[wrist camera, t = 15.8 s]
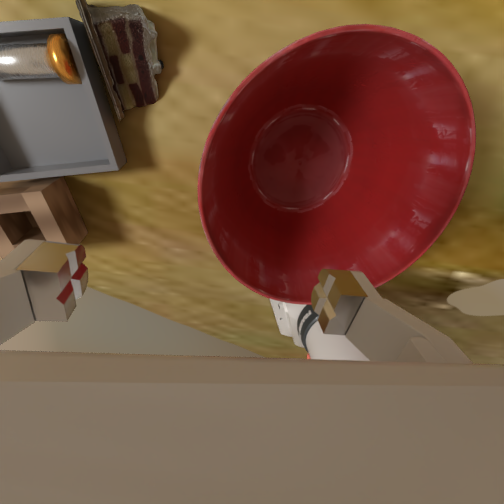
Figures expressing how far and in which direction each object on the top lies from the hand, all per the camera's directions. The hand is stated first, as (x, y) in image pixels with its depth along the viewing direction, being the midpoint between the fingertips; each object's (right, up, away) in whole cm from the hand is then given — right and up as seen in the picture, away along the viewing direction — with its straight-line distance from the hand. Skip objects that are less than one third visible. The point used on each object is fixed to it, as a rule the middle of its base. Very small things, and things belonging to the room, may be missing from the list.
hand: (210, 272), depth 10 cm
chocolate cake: (-12, +23, +24) cm, 35 cm away
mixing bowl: (+9, +14, +32) cm, 36 cm away
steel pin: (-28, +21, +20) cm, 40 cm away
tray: (-24, +19, +25) cm, 39 cm away
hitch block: (-29, +7, +31) cm, 43 cm away
